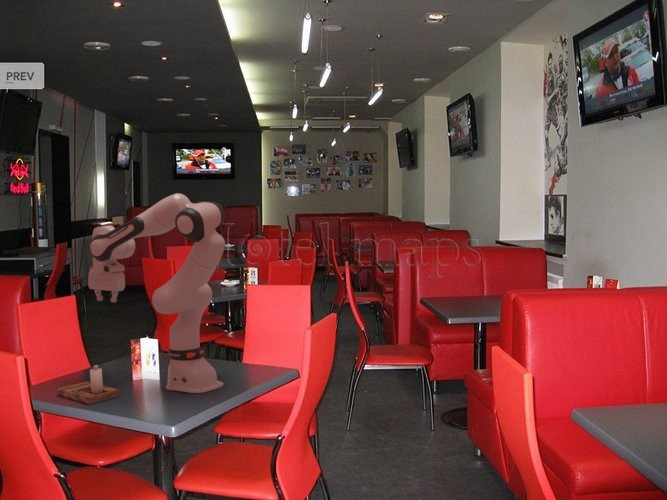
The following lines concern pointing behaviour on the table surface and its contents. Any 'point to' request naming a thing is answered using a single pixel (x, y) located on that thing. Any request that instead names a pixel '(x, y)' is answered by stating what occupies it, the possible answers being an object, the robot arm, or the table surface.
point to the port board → (87, 393)
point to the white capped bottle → (96, 380)
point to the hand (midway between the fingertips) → (106, 301)
